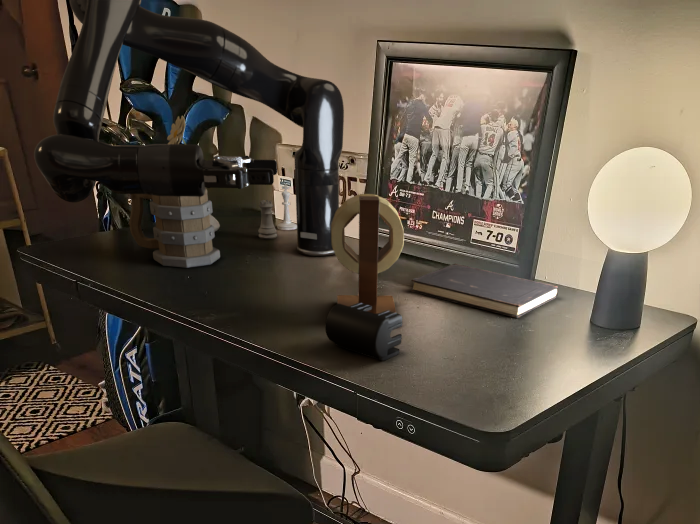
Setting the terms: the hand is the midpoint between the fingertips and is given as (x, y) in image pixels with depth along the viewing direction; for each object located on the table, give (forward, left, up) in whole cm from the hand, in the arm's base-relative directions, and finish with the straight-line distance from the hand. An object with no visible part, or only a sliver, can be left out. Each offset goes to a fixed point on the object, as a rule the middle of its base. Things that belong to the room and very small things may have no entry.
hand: (275, 172), depth 119 cm
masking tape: (0, +15, -15) cm, 21 cm away
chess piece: (-62, -2, -23) cm, 67 cm away
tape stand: (+2, +15, -23) cm, 27 cm away
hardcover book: (-11, +38, -23) cm, 45 cm away
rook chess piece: (-52, -6, -23) cm, 58 cm away
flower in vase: (-54, -23, -23) cm, 63 cm away
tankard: (-33, -25, -23) cm, 48 cm away
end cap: (+20, +14, -23) cm, 33 cm away
